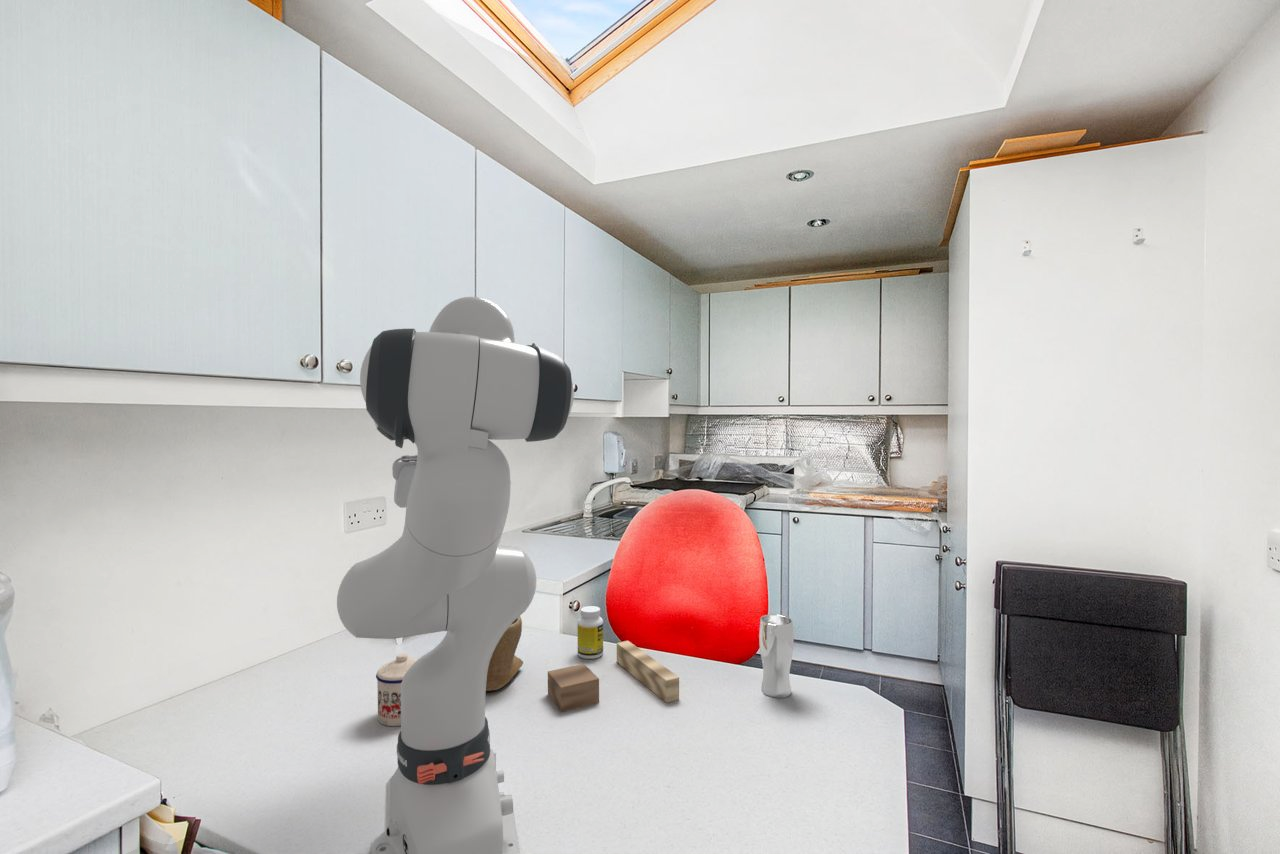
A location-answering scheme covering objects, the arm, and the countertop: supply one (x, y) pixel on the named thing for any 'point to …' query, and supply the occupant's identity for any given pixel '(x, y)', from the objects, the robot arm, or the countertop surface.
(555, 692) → the block
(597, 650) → the pill bottle
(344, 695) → the countertop surface
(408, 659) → the teacup with lid
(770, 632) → the silver metal tumbler
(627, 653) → the light wooden bar
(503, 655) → the stone cup
